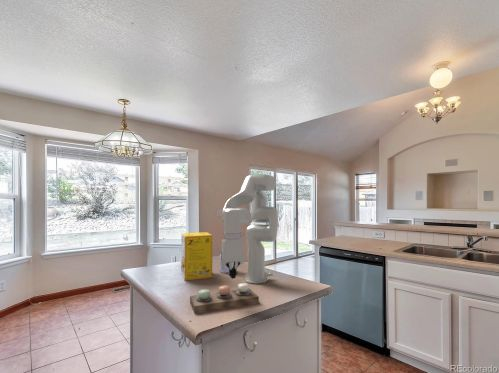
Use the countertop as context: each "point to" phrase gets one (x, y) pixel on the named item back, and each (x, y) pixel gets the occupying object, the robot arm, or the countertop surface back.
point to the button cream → (243, 287)
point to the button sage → (203, 294)
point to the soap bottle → (224, 268)
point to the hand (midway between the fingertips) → (232, 277)
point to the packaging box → (196, 255)
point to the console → (223, 301)
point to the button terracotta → (224, 290)
